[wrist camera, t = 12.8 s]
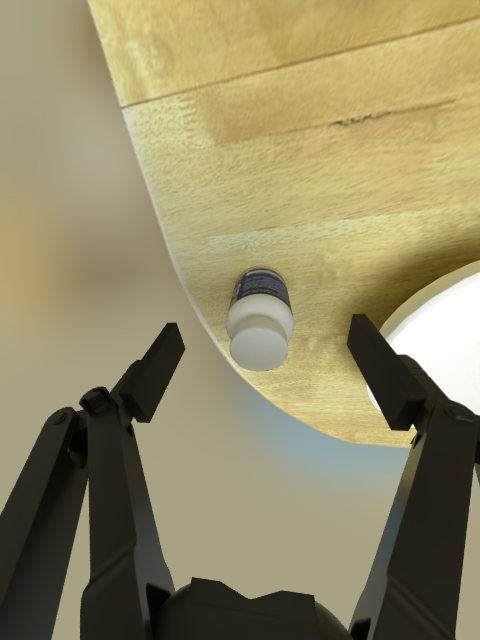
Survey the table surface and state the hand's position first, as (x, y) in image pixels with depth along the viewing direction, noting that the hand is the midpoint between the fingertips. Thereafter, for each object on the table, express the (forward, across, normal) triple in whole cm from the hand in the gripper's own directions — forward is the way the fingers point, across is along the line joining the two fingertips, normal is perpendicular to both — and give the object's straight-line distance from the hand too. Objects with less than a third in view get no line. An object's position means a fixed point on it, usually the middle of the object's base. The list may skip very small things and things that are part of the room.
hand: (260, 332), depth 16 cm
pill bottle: (+8, 0, 0) cm, 8 cm away
